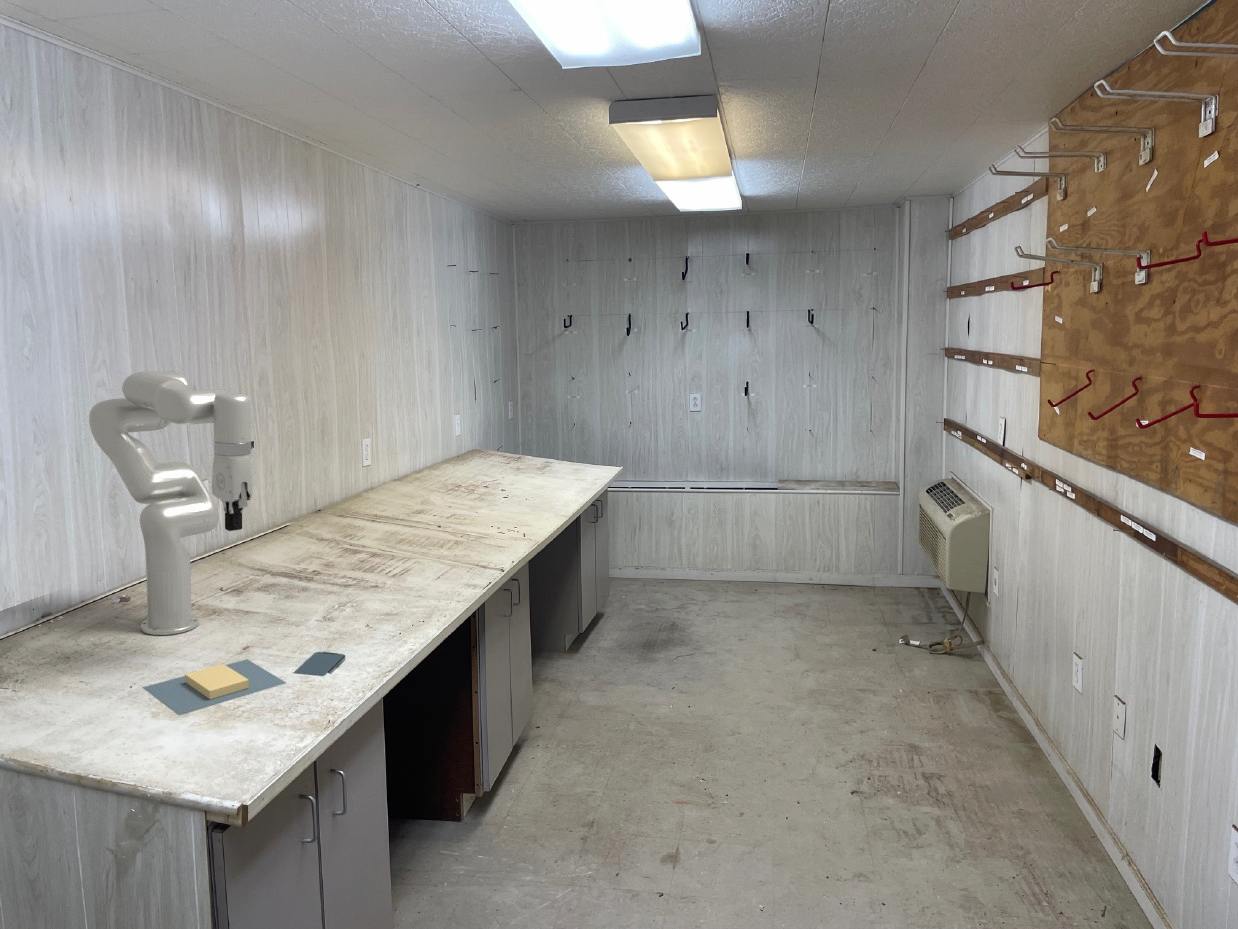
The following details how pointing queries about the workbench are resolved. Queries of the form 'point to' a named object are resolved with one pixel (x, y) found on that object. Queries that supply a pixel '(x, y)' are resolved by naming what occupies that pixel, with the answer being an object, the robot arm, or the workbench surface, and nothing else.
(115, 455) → the robot arm
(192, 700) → the rubber mat
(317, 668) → the smartphone
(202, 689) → the beige rectangular block
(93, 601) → the workbench surface
